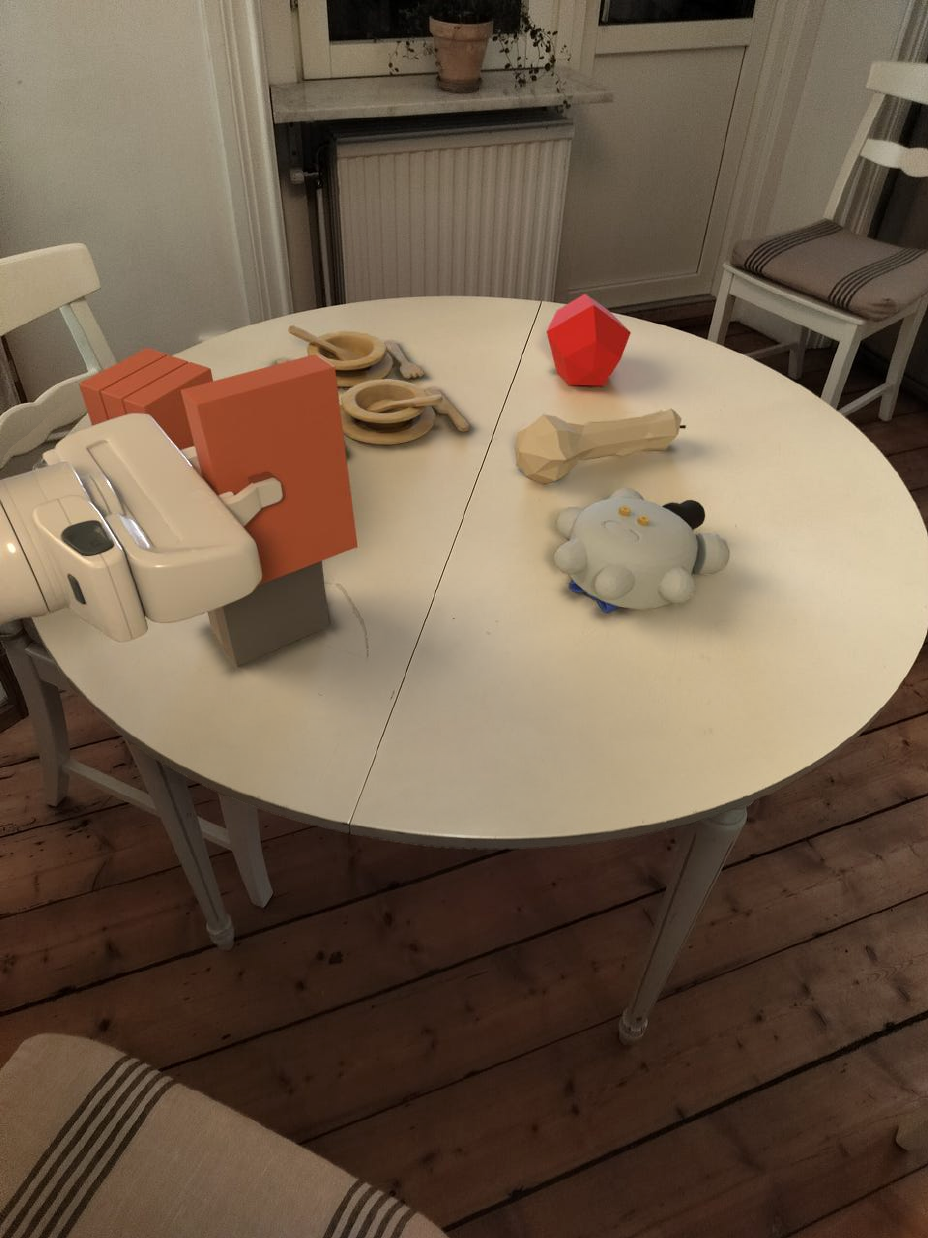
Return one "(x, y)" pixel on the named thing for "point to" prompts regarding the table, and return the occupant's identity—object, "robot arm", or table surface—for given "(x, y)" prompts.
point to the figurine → (637, 551)
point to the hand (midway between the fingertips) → (263, 470)
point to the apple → (586, 342)
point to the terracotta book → (280, 457)
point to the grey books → (272, 615)
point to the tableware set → (378, 388)
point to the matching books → (146, 392)
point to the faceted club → (588, 441)
